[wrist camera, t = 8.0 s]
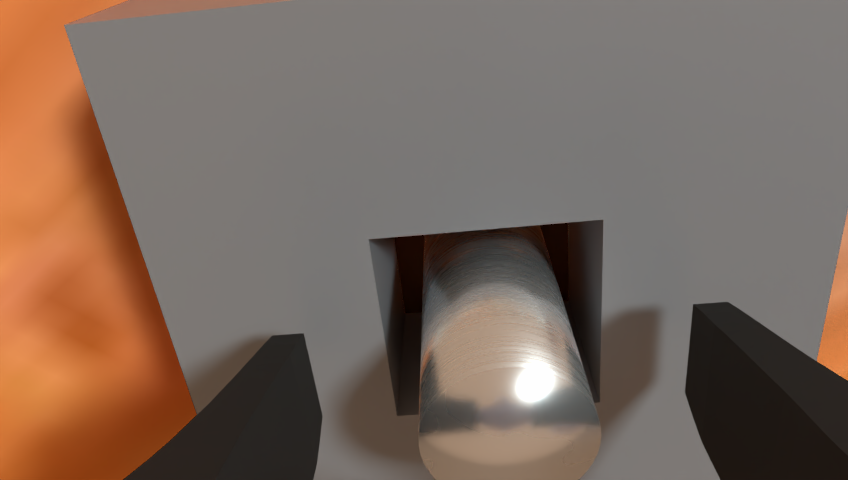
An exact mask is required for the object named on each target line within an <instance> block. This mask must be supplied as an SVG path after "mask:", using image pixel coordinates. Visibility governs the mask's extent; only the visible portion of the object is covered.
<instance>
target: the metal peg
mask: <svg viewBox="0 0 848 480" xmlns="http://www.w3.org/2000/svg"><path fill="white" fill-rule="evenodd" d="M418 440H419V450H420V455H421V457H422V460H423V462H424V464H425V466H426V468H427V469H428V471H429V472H430V473H431V475H432V476H433V477H434V478H435V479H436V480H579V479H580V478H581V477H582V476H583V475H584V474H585V473H586V471H587V470H588V469H589V468H590V466H591V465H592V463H593V462H594V460H595V458H596V456H597V454H598V450H599V447H600V443H601V425H600V421H599V417H598V413H597V410H596V407H595V404H594V400H593V397H592V394H591V391H590V387H589V384H588V381H587V378H586V374H585V371H584V368H583V365H582V361H581V358H580V355H579V351H578V348H577V345H576V342H575V338H574V335H573V332H572V329H571V325H570V322H569V319H568V316H567V312H566V309H565V306H564V303H563V299H562V296H561V293H560V289H559V286H558V283H557V280H556V276H555V273H554V270H553V267H552V263H551V260H550V257H549V254H548V250H547V247H546V244H545V241H544V237H543V234H542V231H541V227H540V225H533V226H522V227H510V228H498V229H486V230H474V231H462V232H450V233H439V234H427V235H425V236H424V261H423V296H422V330H421V365H420V400H419V434H418Z"/></svg>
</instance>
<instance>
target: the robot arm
mask: <svg viewBox="0 0 848 480" xmlns="http://www.w3.org/2000/svg"><path fill="white" fill-rule="evenodd" d="M685 394H686V397H687V400H688V404H689V407H690V410H691V413H692V416H693V419H694V422H695V424H696V427H697V430H698V433H699V436H700V438H701V441H702V443H703V445H704V448H705V450H706V452H707V454H708V456H709V458H710V460H711V462H712V464H713V466H714V468H715V470H716V472H717V474H718V476H719V478H720V480H848V381H847V380H846V379H844V378H842V377H841V376H839V375H837V374H836V373H834V372H833V371H831V370H829V369H828V368H826V367H825V366H823V365H822V364H820V363H818V362H817V361H815V360H814V359H812V358H811V357H809V356H808V355H806V354H805V353H803V352H802V351H800V350H799V349H797V348H796V347H794V346H793V345H791V344H790V343H788V342H787V341H785V340H784V339H782V338H781V337H779V336H778V335H777V334H775V333H774V332H772V331H771V330H769V329H768V328H766V327H765V326H763V325H762V324H761V323H759V322H758V321H756V320H755V319H753V318H752V317H750V316H749V315H747V314H746V313H744V312H743V311H741V310H740V309H738V308H737V307H735V306H734V305H732V304H731V303H729V302H717V303H704V304H693V311H692V321H691V332H690V343H689V353H688V364H687V375H686V385H685ZM322 417H323V416H322V411H321V407H320V402H319V398H318V394H317V389H316V385H315V381H314V376H313V372H312V367H311V363H310V359H309V354H308V350H307V346H306V341H305V337H304V333H299V334H286V335H273V336H271V337H270V338H269V339H268V340H267V341H266V343H265V344H264V345H263V346H262V347H261V348H260V349H259V350H258V351H257V352H256V353H255V355H254V356H253V357H252V358H251V359H250V360H249V361H248V362H247V363H246V364H245V366H244V367H243V368H242V369H241V370H240V371H239V372H238V373H237V374H236V375H235V376H234V378H233V379H232V380H231V381H230V382H229V383H228V384H227V385H226V386H225V387H224V388H223V389H222V390H221V391H220V392H219V393H218V394H217V396H216V397H215V398H214V399H213V400H212V401H211V402H210V403H209V404H208V405H207V406H206V407H205V408H204V409H203V410H202V411H201V412H200V413H198V414H197V415H196V416H195V417H194V418H193V419H192V420H191V421H190V422H189V423H188V424H187V425H186V426H185V427H184V428H183V429H182V430H181V431H180V432H179V433H178V434H177V435H176V436H175V437H173V438H172V439H171V440H170V441H169V442H168V443H167V444H166V445H165V446H163V447H162V448H161V449H160V450H159V451H158V452H157V453H155V454H154V455H153V456H152V457H151V458H149V459H148V460H147V461H146V462H145V463H143V464H142V465H141V466H140V467H138V468H137V469H136V470H135V471H133V472H132V473H131V474H130V475H128V476H127V477H126V478H125V479H123V480H313V479H314V474H315V470H316V466H317V460H318V452H319V444H320V435H321V426H322Z"/></svg>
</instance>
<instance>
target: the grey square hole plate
mask: <svg viewBox="0 0 848 480" xmlns="http://www.w3.org/2000/svg"><path fill="white" fill-rule="evenodd" d="M64 26H65V29H66V32H67V35H68V38H69V41H70V44H71V47H72V49H73V52H74V55H75V58H76V61H77V64H78V67H79V70H80V73H81V76H82V79H83V82H84V85H85V88H86V91H87V93H88V96H89V99H90V102H91V105H92V108H93V111H94V114H95V117H96V120H97V123H98V126H99V129H100V132H101V134H102V137H103V140H104V143H105V146H106V149H107V152H108V155H109V158H110V161H111V164H112V167H113V170H114V173H115V176H116V178H117V181H118V184H119V187H120V190H121V193H122V196H123V199H124V202H125V205H126V208H127V211H128V214H129V217H130V219H131V222H132V225H133V228H134V231H135V234H136V237H137V240H138V243H139V246H140V249H141V252H142V255H143V258H144V261H145V263H146V266H147V269H148V272H149V275H150V278H151V281H152V284H153V287H154V290H155V293H156V296H157V299H158V302H159V304H160V307H161V310H162V313H163V316H164V319H165V322H166V325H167V328H168V331H169V334H170V337H171V340H172V343H173V346H174V348H175V351H176V354H177V357H178V360H179V363H180V366H181V369H182V372H183V375H184V378H185V381H186V384H187V387H188V389H189V392H190V395H191V398H192V401H193V404H194V407H195V410H196V413H197V414H198V413H200V412H201V411H202V410H203V409H204V408H205V407H206V406H207V405H208V404H209V403H210V402H211V401H212V400H213V399H214V398H215V397H216V396H217V394H218V393H219V392H220V391H221V390H222V389H223V388H224V387H225V386H226V385H227V384H228V383H229V382H230V381H231V380H232V379H233V378H234V376H235V375H236V374H237V373H238V372H239V371H240V370H241V369H242V368H243V367H244V366H245V364H246V363H247V362H248V361H249V360H250V359H251V358H252V357H253V356H254V355H255V353H256V352H257V351H258V350H259V349H260V348H261V347H262V346H263V345H264V344H265V343H266V341H267V340H268V339H269V338H270V337H271V336H273V335H286V334H299V333H304V337H305V341H306V346H307V350H308V354H309V359H310V363H311V367H312V372H313V376H314V381H315V385H316V389H317V394H318V398H319V402H320V407H321V411H322V416H323V417H322V426H321V435H320V444H319V452H318V460H317V466H316V470H315V474H314V479H313V480H436V479H435V478H434V477H433V476H432V475H431V473H430V472H429V471H428V469H427V468H426V466H425V464H424V462H423V460H422V457H421V455H420V450H419V440H418V434H419V400H420V365H421V330H422V312H416V313H405V309H404V302H403V295H402V288H401V281H400V274H399V267H398V260H397V253H396V246H395V238H394V237H403V236H415V235H427V234H439V233H450V232H462V231H474V230H486V229H498V228H510V227H522V226H533V225H545V224H557V223H568V301H563V303H564V306H565V309H566V312H567V316H568V319H569V322H570V325H571V329H572V332H573V335H574V338H575V342H576V345H577V348H578V351H579V355H580V358H581V361H582V365H583V368H584V371H585V374H586V378H587V381H588V384H589V387H590V391H591V394H592V397H593V400H594V404H595V407H596V410H597V413H598V417H599V421H600V425H601V443H600V447H599V450H598V454H597V456H596V458H595V460H594V462H593V463H592V465H591V466H590V468H589V469H588V470H587V471H586V473H585V474H584V475H583V476H582V477H581V478H580V479H579V480H720V478H719V476H718V474H717V472H716V470H715V468H714V466H713V464H712V462H711V460H710V458H709V456H708V454H707V452H706V450H705V448H704V445H703V443H702V441H701V438H700V436H699V433H698V430H697V427H696V424H695V422H694V419H693V416H692V413H691V410H690V407H689V404H688V400H687V397H686V394H685V385H686V375H687V364H688V353H689V343H690V332H691V321H692V311H693V304H704V303H717V302H729V303H731V304H732V305H734V306H735V307H737V308H738V309H740V310H741V311H743V312H744V313H746V314H747V315H749V316H750V317H752V318H753V319H755V320H756V321H758V322H759V323H761V324H762V325H763V326H765V327H766V328H768V329H769V330H771V331H772V332H774V333H775V334H777V335H778V336H779V337H781V338H782V339H784V340H785V341H787V342H788V343H790V344H791V345H793V346H794V347H796V348H797V349H799V350H800V351H802V352H803V353H805V354H806V355H808V356H809V357H811V358H812V359H814V360H815V361H817V356H818V351H819V347H820V342H821V337H822V332H823V327H824V322H825V317H826V312H827V308H828V303H829V298H830V293H831V288H832V283H833V278H834V273H835V268H836V264H837V259H838V254H839V249H840V244H841V239H842V234H843V229H844V225H845V220H846V215H847V210H848V0H128V1H126V2H123V3H121V4H118V5H115V6H113V7H110V8H108V9H105V10H102V11H100V12H97V13H94V14H92V15H89V16H87V17H84V18H81V19H79V20H76V21H74V22H71V23H68V24H66V25H64Z"/></svg>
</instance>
